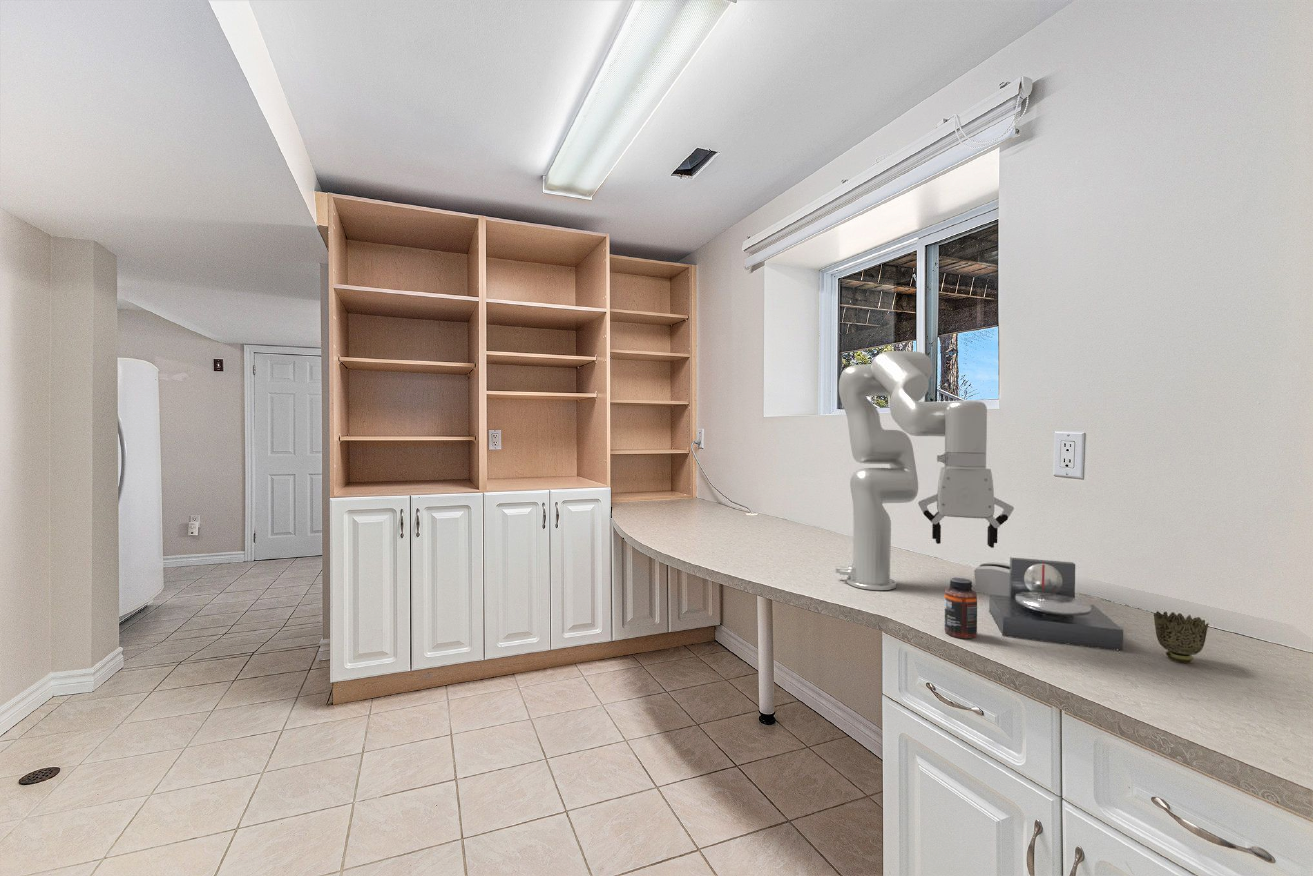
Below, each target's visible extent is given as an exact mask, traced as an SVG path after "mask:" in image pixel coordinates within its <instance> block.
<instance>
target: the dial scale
mask: <svg viewBox="0 0 1313 876" xmlns="http://www.w3.org/2000/svg"><path fill="white" fill-rule="evenodd" d="M1009 564H1010V585H1009V596H1001V595H991V594H989V595H988V599H989V600H988V601H989V602H988V612H989V613H990V616H991V615H992V616H991V617H993V618H992V619H993V621H994V622H995V625H996V624H997V625H996V626H997V628H998V630H999V632H1000V634H1001V633H1002V634H1001V635H1002V636H1003V637H1008V636H1012V637H1011V638H1016V637H1018V639H1024V638H1027V639H1026V640H1032V639H1034V641H1040V640H1043V641H1042V642H1048V643H1049V642H1050V643H1056V644H1064V643H1067V644H1066V645H1072V644H1073V646H1080V645H1084V646H1083V647H1088V646H1089V648H1090V647H1091V648H1096V647H1099V649H1104V648H1105V649H1106V650H1113V649H1115V650H1114V651H1121V650H1123V651H1124V629H1123V628H1121V626H1119V625H1118V624H1117V623H1116V622H1115V621H1113V620H1112V619H1111V618H1110V617H1109V616H1107V614H1105V613H1104V612H1103V611H1101V610H1100V608H1098V607H1097V606H1095V604H1090V603H1088V602H1086V601H1084V600H1081V599H1079V598H1075V597H1076V563H1074V562H1073V561H1060V560H1048V559H1047V560H1046V559H1033V558H1023V557H1021V558H1020V557H1011V556H1010V557H1009ZM1057 642H1058V643H1057ZM1068 643H1069V644H1068ZM1117 649H1118V650H1117Z"/></svg>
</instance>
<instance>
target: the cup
mask: <svg viewBox="0 0 1313 876" xmlns="http://www.w3.org/2000/svg"><path fill="white" fill-rule="evenodd" d="M1153 619H1154V628H1155V634H1156V638H1157V642H1158V643H1159V645H1160V646H1161V647H1162V648H1163V649H1165V650H1166V652H1165V655H1166V658H1168V659H1170V661H1173V662H1177V663H1182V664H1190V663H1192V662H1193V660H1194V657H1193V656H1194V655H1198V654H1199V653H1201V652H1202V650H1203V649H1204V646H1205V642H1206V638H1207V634H1208V633H1207V632H1208V628H1209V622H1207V623H1206V620H1204V619H1202V618H1201V617H1199V616H1196V617H1193V618H1192V616H1191V614H1188V615H1187V616H1186V618H1185V616H1183V614H1182V613H1180V612H1179V613H1177V614H1176V613H1175V612H1174V611H1172V612H1171V613H1169V614H1168V611H1164V612H1163V614H1162V612H1160V611H1159V610H1157V611H1156V612H1153Z"/></svg>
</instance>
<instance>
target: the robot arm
mask: <svg viewBox="0 0 1313 876" xmlns="http://www.w3.org/2000/svg"><path fill="white" fill-rule="evenodd" d="M932 373H933V364H932V360H931V358H930V357H929V356H928V355H927V354H925V353H924V352H921V351H913V350H912V351H910V350H905V351H904V350H888V351H883V352H881V353H879V354H877V355H876V356H875V357H874V358H873V360H872V362H871V364H853V365H851V366H848V367H846V368H845V369H843V371H842V372H841V374H840V376H839V382H838V392H839V399H840V402H841V404H842V407H843V409H844V412H845V416H846V419H847V425H848V426H847V427H848V432H849V433H848V435H849V441H850V448H851V453H852V454H851V455H852V456H853V459H854V460H855V462H857V463H860V464H867V465H889V467H864V468H861V469H857V470H856V471H855V472H853V473H852V475H851V477H850V481H849V486H850V487H849V489H850V492H851V493H850V494H851V498H852V499H851V500H852V505H853V506H852V508H853V509H852V510H853V512H852V513H853V514H852V515H853V532H852V534H853V535H852V537H853V538H852V539H853V540H852V543H853V545H852V563H851V566H850V565H848V566H847V567H846V566H843V565H842V566H841V565H836V566H835V573H836V574H839V575H841V576H842V575H843V576H847V577H846V583H847V584H848V585H849V586H853V587H855V588H859V589H862V590H863V589H864V590H869V591H870V590H871V591H890V590H894V589H896V588H897V581H895V580H894V579H892V578H891V557H892V556H891V551H892V549H891V546H892V543H891V540H892V520H891V516H890V515H889V513H888V512H887V510H886V509H885V507H884V505H883V504H905V503H906V504H907V503H911V502H913V501H914V500H915V499H916V498H917V496H918V493H919V479H918V473H917V466H916V461H915V460H916V459H915V453H914V448H913V443H912V441H911V439H910V437H909V436H908V435H910V436H915V437H940V438H941V437H942V438H943V437H944V453H943V454H941V455H939V454H938V455H936V462H937V463H943V465H944V466H943V467H940V472H939V477H938V484H937V491H936V492H937V493H936V494H932V495H931V496H928V497H926V498H923V499H921V500H919V501H918V503H917V504H918V506H919V508H920V511H921V512H922V514H923V515H924V516H925V517H926V518H927V519H928V520H929V521H930V522H931V525H932V526H931V528H932V531H931V533H932V534H931V539H933V540H935V543H936V544H937V545H940V544H941V541H942V540H941V538H942V537H941V536H942V535H941V534H942V531H941V530H942V524H941V523H940V522H941V521H942V520H943V519H944V518H945V517H948V518H949V517H950V518H963V519H964V518H965V519H967V518H968V519H985V520H986V521H987V522H988V523H989V525H988V526H987V537H986V538H987V544H986V545H987V546H988V547H989V548H991V549H993V548H994V547H995V544H998V533H999V532H998V530H999V528H1000V527H1001V526H1002V525H1003V524H1004V523H1005V522H1006V521H1008V520H1009V517H1010V516H1011V514H1012V513H1013V511H1014V509H1015V508H1014V506H1013V505H1011V504H1009V503H1007V502H1005V501H1003V500H1001V499H998V498H997V497H995V489H994V479H993V473H992V470H991V468H987V444H988V443H987V441H988V439H987V437H988V436H987V430H988V427H987V426H988V420H987V419H988V409H987V405H986V403H984V402H982V401H978V400H977V401H976V400H964V401H949V402H948V401H921V400H922V399H923V398H924V397H925V396H926V394H927V393H928V390H929V387H930V382H929V380H930V379H931V376H932ZM867 396H873V397H874V396H875V397H879V396H880V397H881V396H883V397H885V396H886V397H890V398H889V411H890V415H891V418H892V420H894V422H895V423H896V424H897V425H898V426H899V427H900V428H901V430H899V429H884V428H883V427H882V425H881V424H882V423H881V417H880V412H879V410H878V409H877V408H876V407H875V405H874V403H872V401H870V400H869V399H868V398H867ZM907 434H908V435H907ZM933 503H936V509H937V512H935V513H934V514H933V513H932V512H931V511H930V510H929V509H928V505H931V504H933ZM995 505H996V506H997V507H999V508H1000V509H1003V510H1002V513H1000V514H999V515H998V516H997V517H996V518H995V517H994V515H995ZM994 549H995V548H994Z"/></svg>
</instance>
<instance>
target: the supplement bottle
mask: <svg viewBox="0 0 1313 876" xmlns="http://www.w3.org/2000/svg"><path fill="white" fill-rule="evenodd" d="M949 585H950V586H949V587H947V588H946V589H945V590H944V632H945V633H946V634H947V635H949V636H952V637H955V638H959V639H967V640H968V639H973V638H976V637H977V635H978V594H977V593H976V591H974V590H973V582H972V579H968V578H965V577H951V578H950V579H949Z"/></svg>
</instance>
